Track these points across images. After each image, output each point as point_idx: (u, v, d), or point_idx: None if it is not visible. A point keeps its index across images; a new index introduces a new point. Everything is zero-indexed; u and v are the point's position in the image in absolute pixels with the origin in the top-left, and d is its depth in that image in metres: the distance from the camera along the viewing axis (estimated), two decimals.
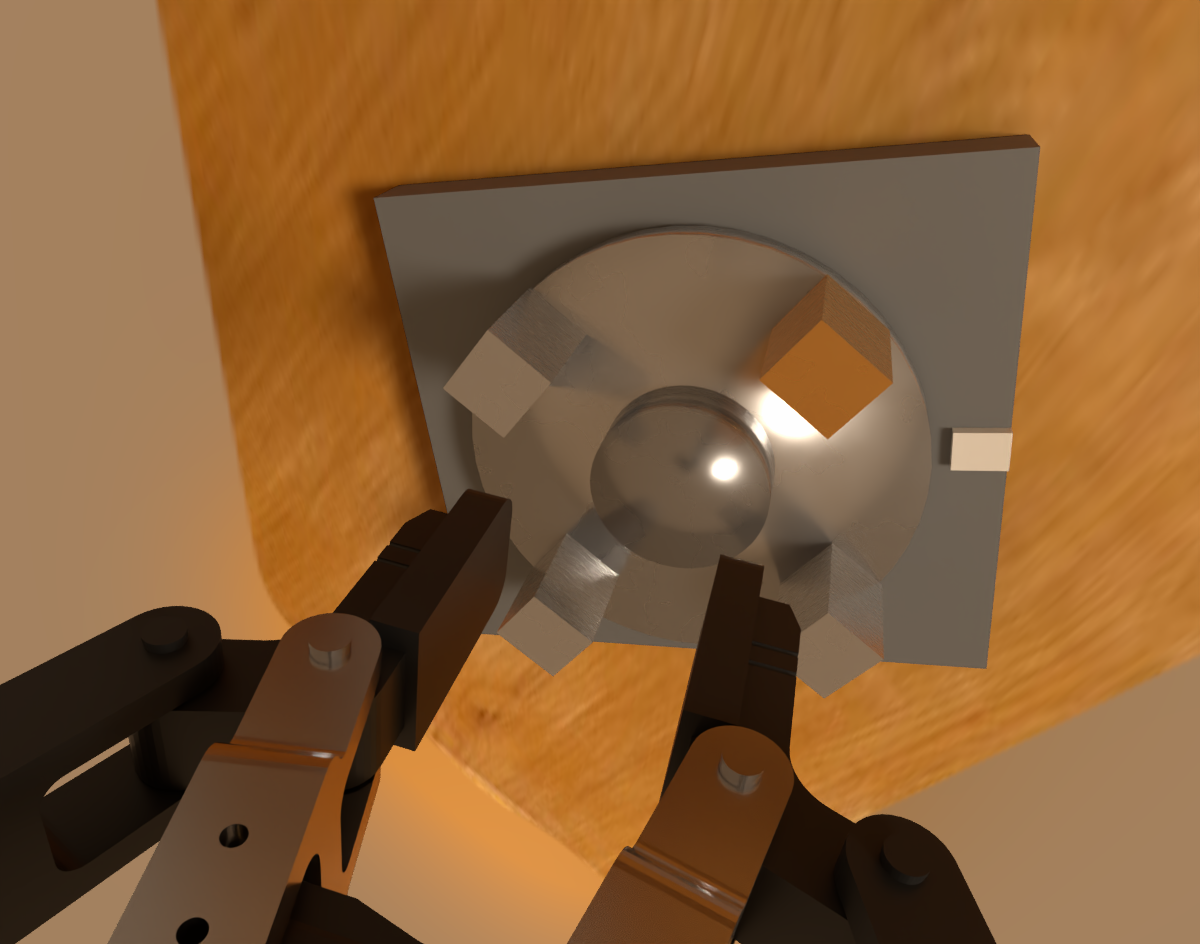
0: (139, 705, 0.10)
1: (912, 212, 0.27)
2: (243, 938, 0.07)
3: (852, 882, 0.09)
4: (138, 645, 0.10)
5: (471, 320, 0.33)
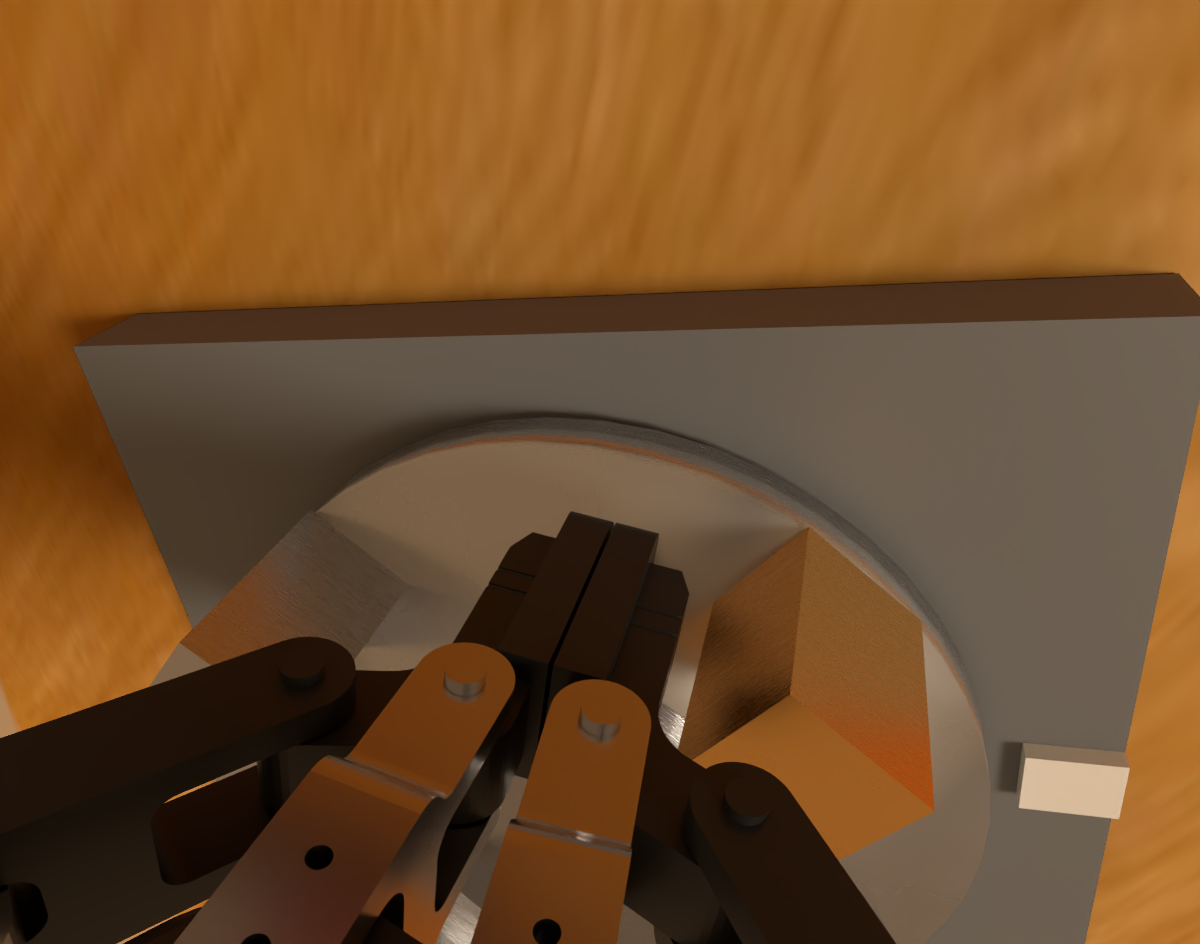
0: (258, 737, 0.10)
1: (964, 415, 0.15)
2: None
3: (702, 836, 0.09)
4: (275, 673, 0.10)
5: (248, 531, 0.20)
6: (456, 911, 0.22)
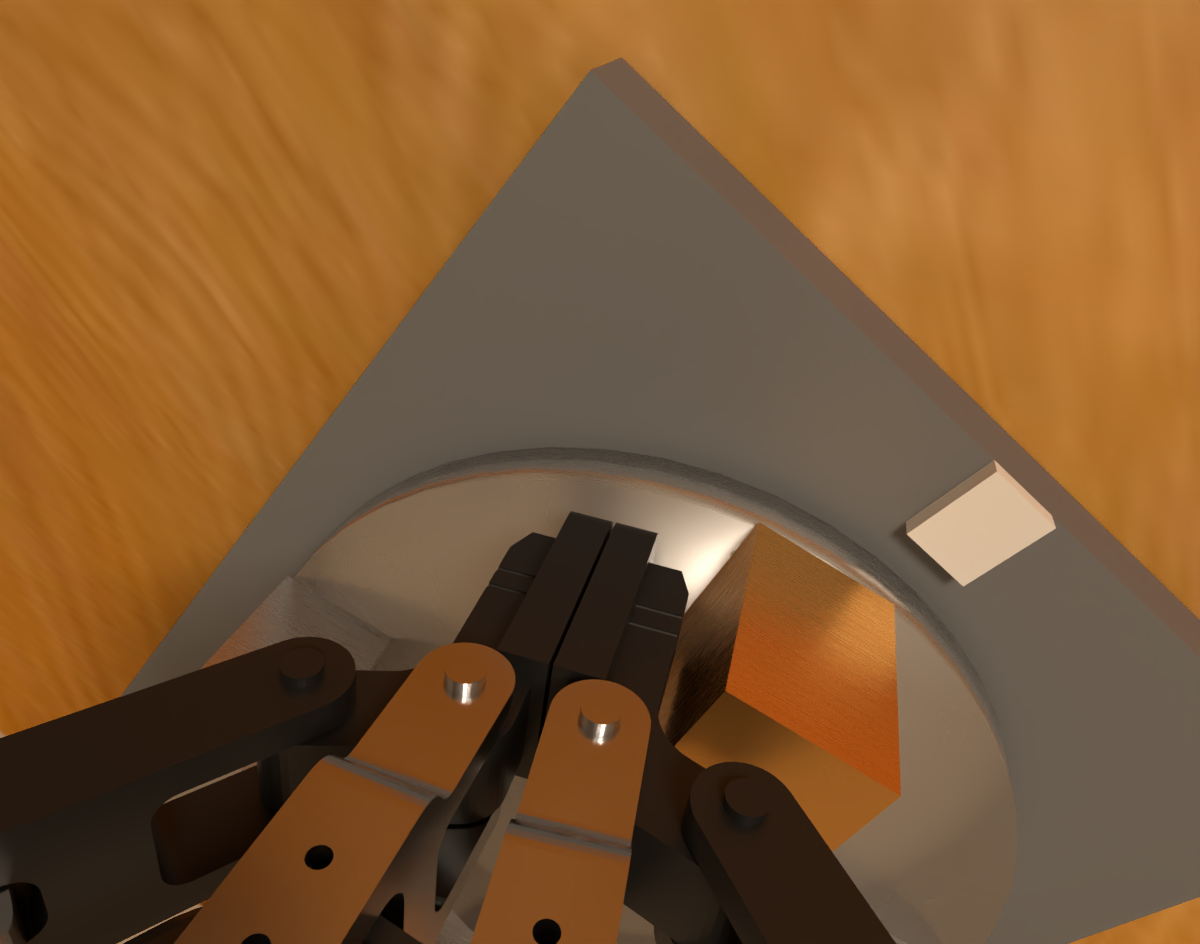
0: (259, 737, 0.10)
1: (540, 299, 0.15)
2: None
3: (702, 837, 0.09)
4: (275, 673, 0.10)
5: None
6: None
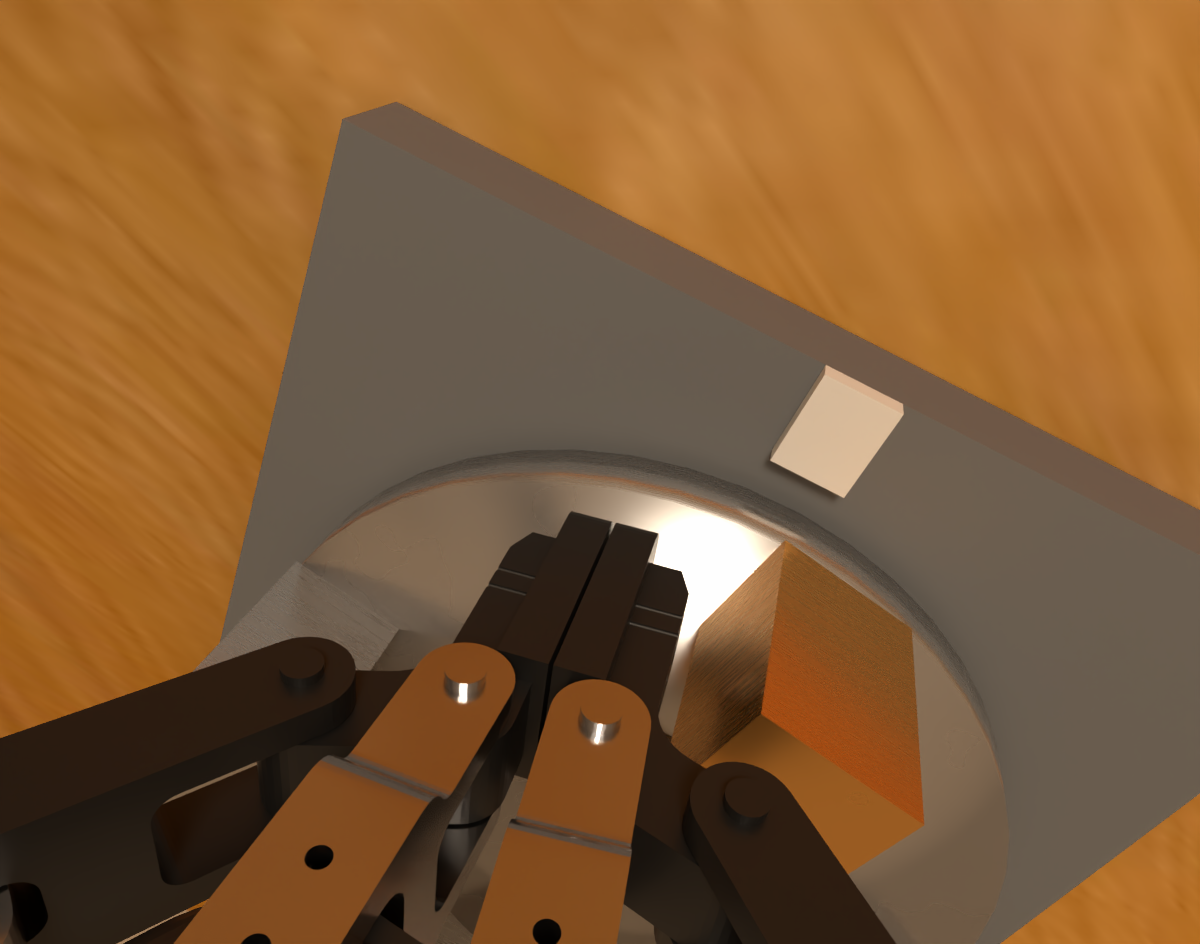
0: (259, 737, 0.10)
1: (380, 334, 0.17)
2: None
3: (702, 837, 0.09)
4: (275, 673, 0.10)
5: None
6: None
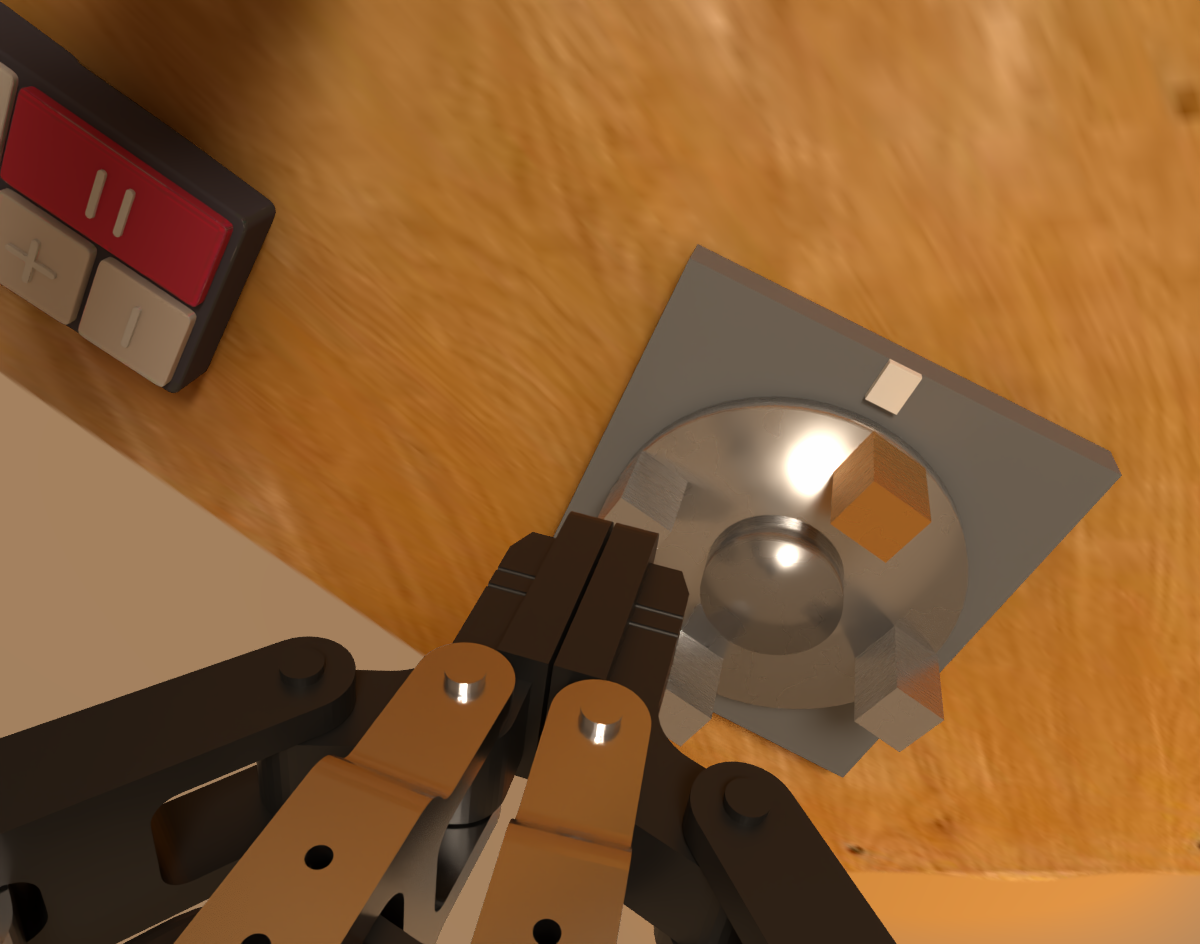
0: (258, 737, 0.10)
1: (690, 346, 0.37)
2: None
3: (702, 837, 0.09)
4: (275, 673, 0.10)
5: None
6: (706, 660, 0.42)
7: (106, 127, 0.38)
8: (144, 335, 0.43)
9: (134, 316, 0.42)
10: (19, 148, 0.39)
